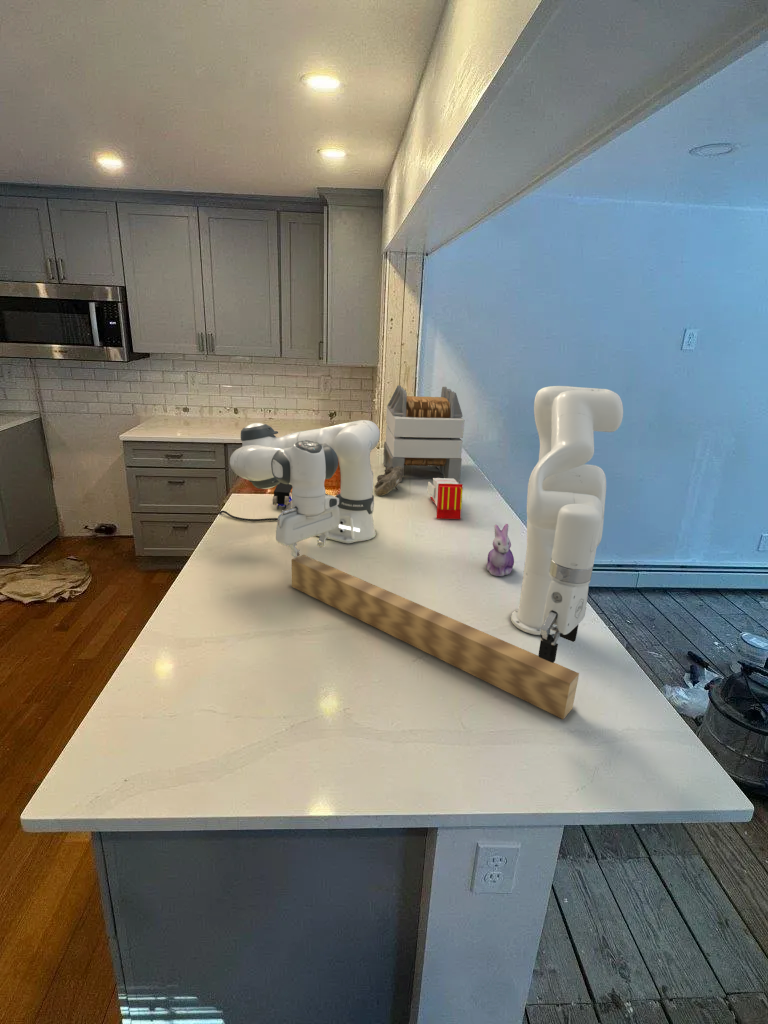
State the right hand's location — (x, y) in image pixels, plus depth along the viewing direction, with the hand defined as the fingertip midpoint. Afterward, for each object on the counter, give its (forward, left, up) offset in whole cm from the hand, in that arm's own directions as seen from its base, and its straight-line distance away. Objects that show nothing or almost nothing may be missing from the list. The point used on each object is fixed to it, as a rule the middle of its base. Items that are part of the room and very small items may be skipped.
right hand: (557, 648), depth 111 cm
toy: (-116, -30, -13) cm, 121 cm away
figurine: (-62, -9, -13) cm, 64 cm away
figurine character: (-101, -92, -13) cm, 137 cm away
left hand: (-36, -62, -2) cm, 71 cm away
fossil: (-133, -55, -13) cm, 145 cm away
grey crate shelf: (-164, -45, -13) cm, 171 cm away
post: (-18, -31, -13) cm, 38 cm away
